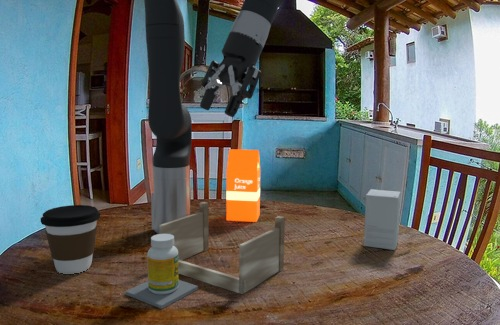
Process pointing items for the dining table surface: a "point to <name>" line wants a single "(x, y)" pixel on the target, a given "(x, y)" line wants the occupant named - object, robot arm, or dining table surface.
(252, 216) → the orange juice
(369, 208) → the supplement box
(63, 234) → the coffee cup
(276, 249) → the grey open box frame
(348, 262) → the dining table surface
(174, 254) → the supplement bottle
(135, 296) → the mat
